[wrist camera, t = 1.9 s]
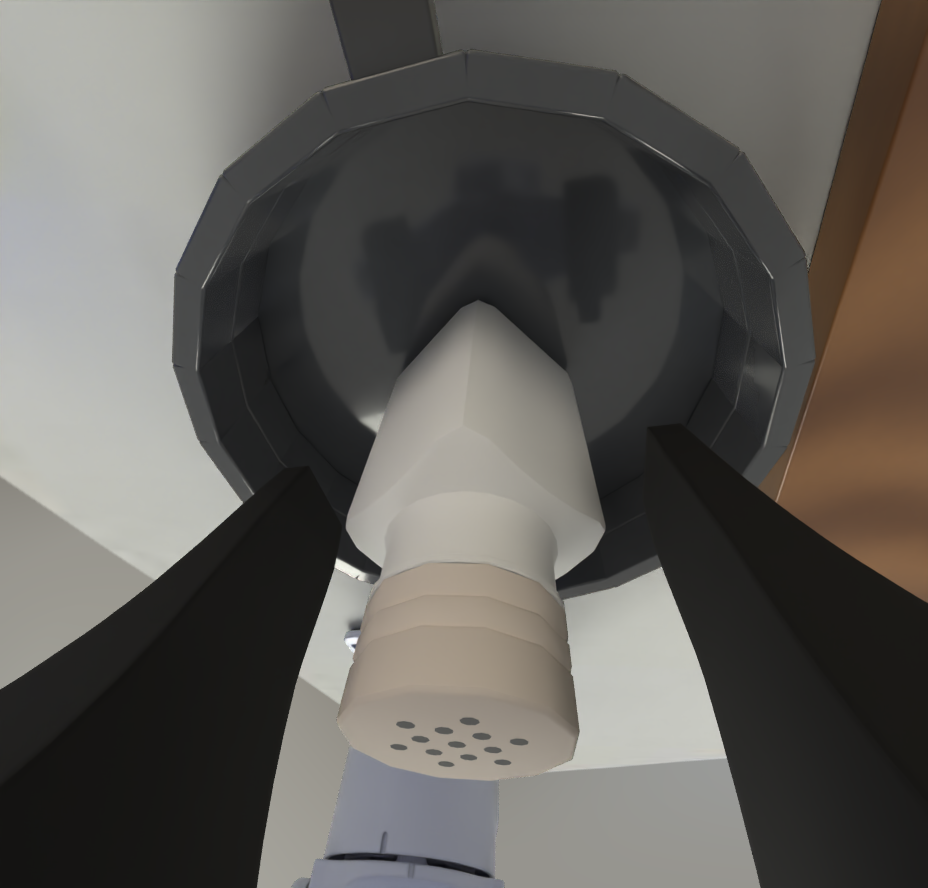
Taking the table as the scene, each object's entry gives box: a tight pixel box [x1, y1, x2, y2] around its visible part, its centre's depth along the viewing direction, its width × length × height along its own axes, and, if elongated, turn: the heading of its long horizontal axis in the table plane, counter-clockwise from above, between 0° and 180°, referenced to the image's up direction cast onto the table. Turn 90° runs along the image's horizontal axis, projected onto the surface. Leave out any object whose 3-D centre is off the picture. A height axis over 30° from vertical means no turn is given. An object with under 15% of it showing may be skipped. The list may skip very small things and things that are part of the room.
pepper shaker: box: [337, 300, 606, 781], centre depth 10 cm, size 4×4×10 cm
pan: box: [172, 49, 816, 600], centre depth 12 cm, size 14×14×4 cm
